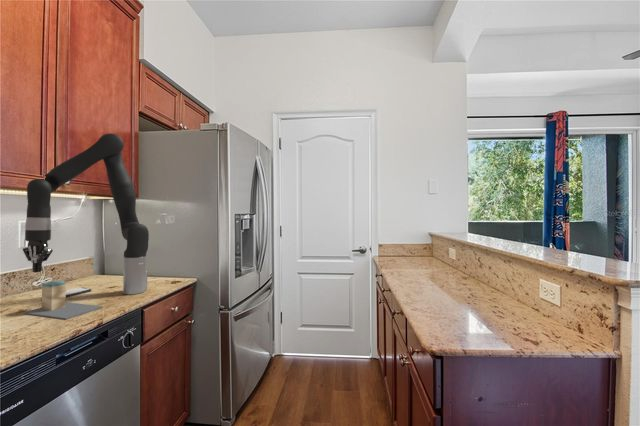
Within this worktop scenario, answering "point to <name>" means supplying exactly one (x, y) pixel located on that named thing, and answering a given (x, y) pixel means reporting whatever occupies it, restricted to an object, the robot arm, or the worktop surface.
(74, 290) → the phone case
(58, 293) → the maple block
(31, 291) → the worktop surface
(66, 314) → the slate mat
